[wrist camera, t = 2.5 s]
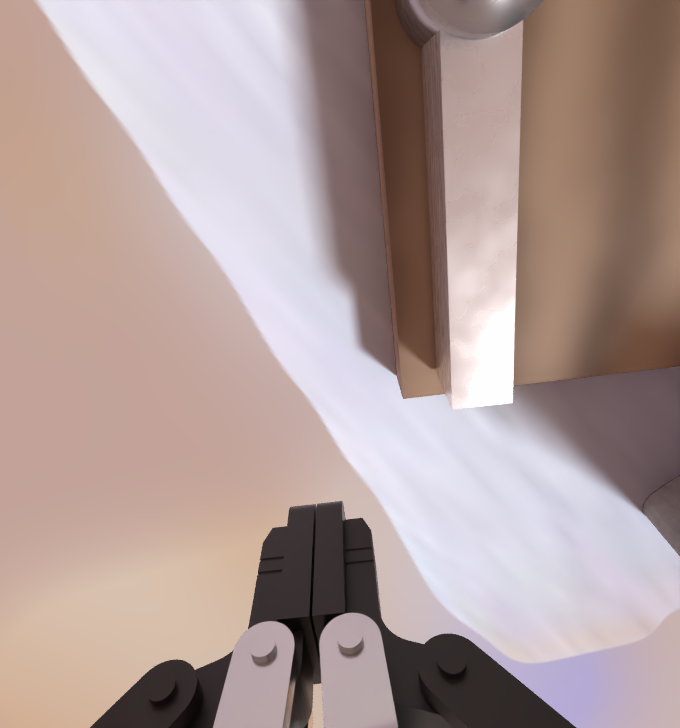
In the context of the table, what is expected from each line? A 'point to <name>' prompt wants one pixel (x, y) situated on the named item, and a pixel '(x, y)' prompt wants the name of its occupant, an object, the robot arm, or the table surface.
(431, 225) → the bar
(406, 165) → the lock board
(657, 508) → the hip flask
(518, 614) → the table surface
